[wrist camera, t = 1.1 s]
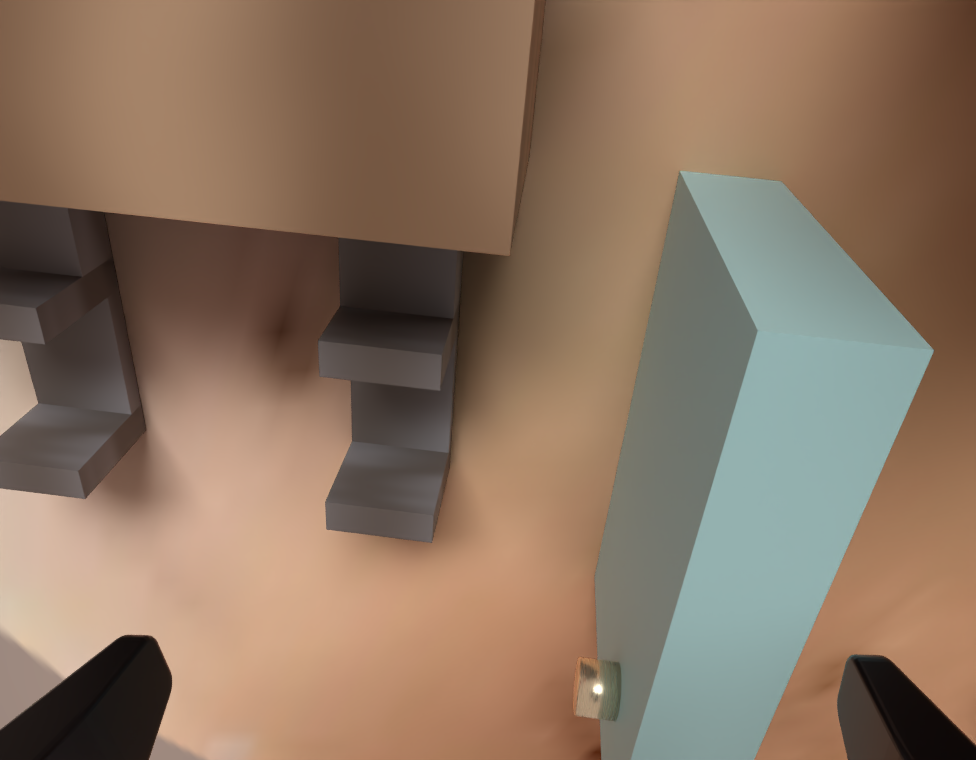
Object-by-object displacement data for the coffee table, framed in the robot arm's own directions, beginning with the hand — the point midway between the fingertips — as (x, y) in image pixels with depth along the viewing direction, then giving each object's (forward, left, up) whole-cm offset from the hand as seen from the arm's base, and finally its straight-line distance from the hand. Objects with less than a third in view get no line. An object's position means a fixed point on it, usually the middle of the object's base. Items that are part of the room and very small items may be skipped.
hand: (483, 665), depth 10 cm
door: (-5, +4, -13) cm, 14 cm away
